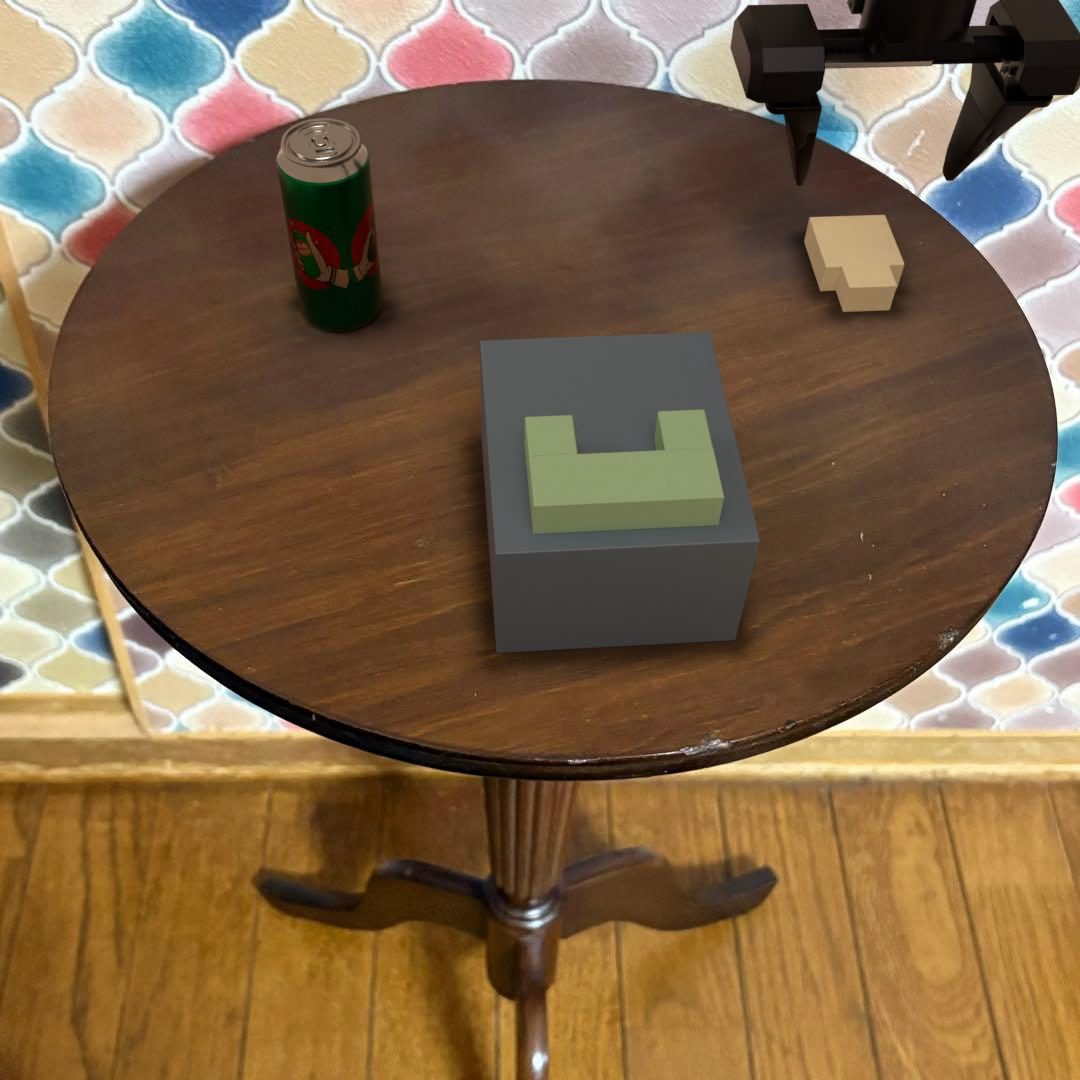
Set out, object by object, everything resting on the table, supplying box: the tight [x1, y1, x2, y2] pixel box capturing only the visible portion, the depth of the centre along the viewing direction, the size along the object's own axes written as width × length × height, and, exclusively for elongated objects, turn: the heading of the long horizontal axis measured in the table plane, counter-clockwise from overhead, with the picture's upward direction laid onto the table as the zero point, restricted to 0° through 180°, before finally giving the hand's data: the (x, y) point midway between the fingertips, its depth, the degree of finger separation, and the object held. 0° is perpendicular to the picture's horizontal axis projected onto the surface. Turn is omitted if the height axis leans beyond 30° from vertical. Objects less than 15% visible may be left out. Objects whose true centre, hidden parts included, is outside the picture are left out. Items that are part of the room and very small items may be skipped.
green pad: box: [524, 410, 724, 534], centre depth 59 cm, size 8×6×2 cm, turn 95°
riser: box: [479, 331, 761, 654], centre depth 65 cm, size 12×14×8 cm
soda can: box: [275, 117, 384, 333], centre depth 74 cm, size 5×5×12 cm
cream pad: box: [803, 214, 905, 313], centre depth 81 cm, size 5×7×2 cm
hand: (872, 179), depth 78 cm, fingers open, 9 cm apart
